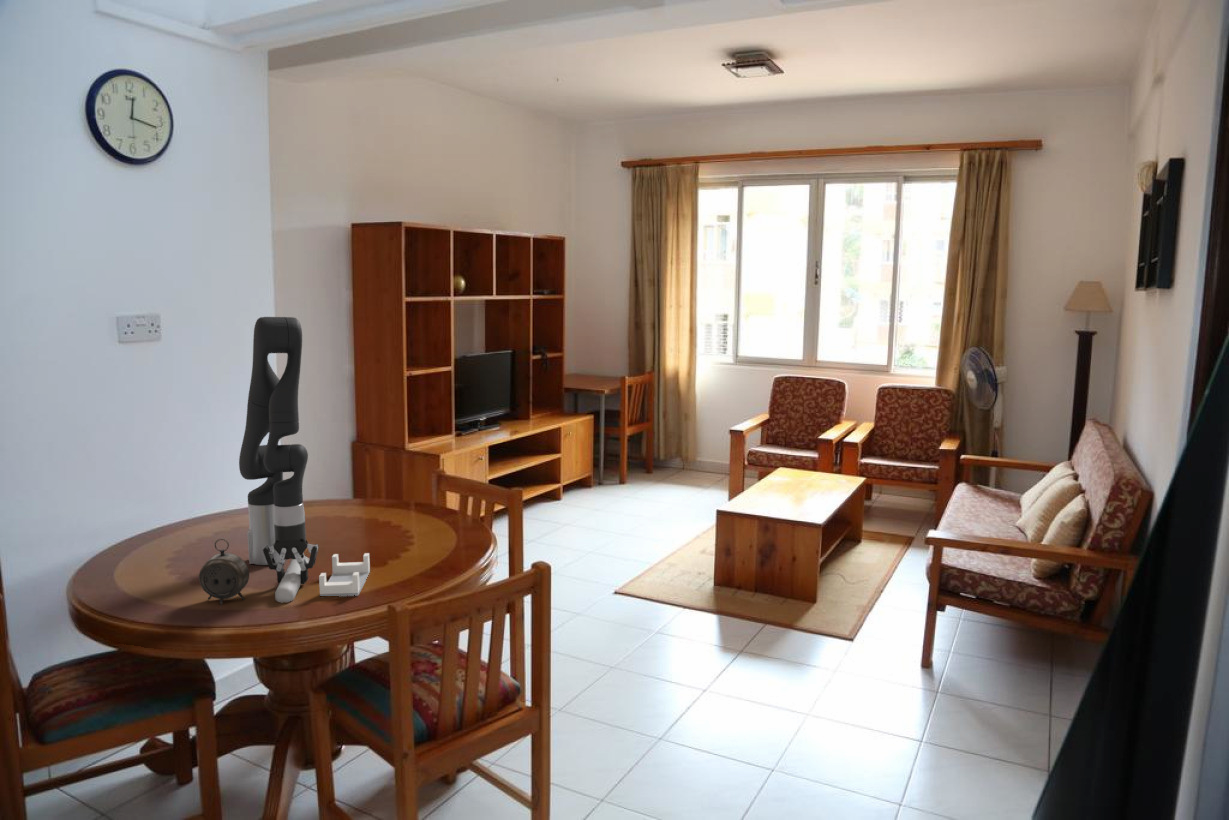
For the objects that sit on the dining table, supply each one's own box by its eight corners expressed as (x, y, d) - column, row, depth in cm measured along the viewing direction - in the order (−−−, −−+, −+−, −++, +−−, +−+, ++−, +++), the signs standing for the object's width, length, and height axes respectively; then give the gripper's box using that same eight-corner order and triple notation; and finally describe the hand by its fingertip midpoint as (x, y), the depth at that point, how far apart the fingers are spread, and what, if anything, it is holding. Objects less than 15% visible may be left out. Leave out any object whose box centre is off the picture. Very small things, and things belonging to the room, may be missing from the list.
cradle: (320, 597, 220) (319, 576, 219) (334, 573, 237) (333, 554, 236) (358, 595, 220) (357, 575, 220) (370, 572, 238) (369, 553, 237)
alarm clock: (251, 597, 219) (247, 535, 217) (243, 605, 214) (239, 541, 211) (207, 597, 219) (203, 535, 216) (198, 605, 214) (193, 542, 211)
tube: (297, 590, 215) (312, 557, 240) (275, 585, 214) (292, 552, 238) (291, 610, 216) (307, 574, 240) (269, 605, 215) (287, 570, 239)
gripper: (256, 525, 220) (260, 589, 223) (314, 524, 222) (318, 587, 224) (264, 517, 227) (268, 579, 230) (321, 515, 229) (324, 577, 232)
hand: (293, 583), depth 227 cm, fingers closed on tube, 4 cm apart
